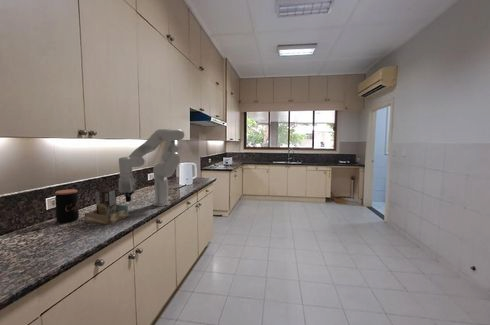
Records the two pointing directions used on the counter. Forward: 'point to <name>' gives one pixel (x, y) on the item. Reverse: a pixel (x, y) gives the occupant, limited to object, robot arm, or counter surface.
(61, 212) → the coffee jar
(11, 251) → the counter surface
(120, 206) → the tray
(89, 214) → the wooden drawer box
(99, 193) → the coffee box
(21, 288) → the counter surface
